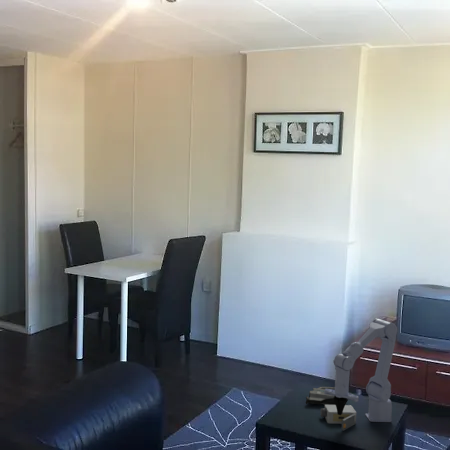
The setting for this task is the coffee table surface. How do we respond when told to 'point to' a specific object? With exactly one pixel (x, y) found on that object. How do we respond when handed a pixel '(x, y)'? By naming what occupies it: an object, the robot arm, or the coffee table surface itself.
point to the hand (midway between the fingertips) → (339, 414)
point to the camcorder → (320, 396)
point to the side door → (348, 422)
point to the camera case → (332, 414)
